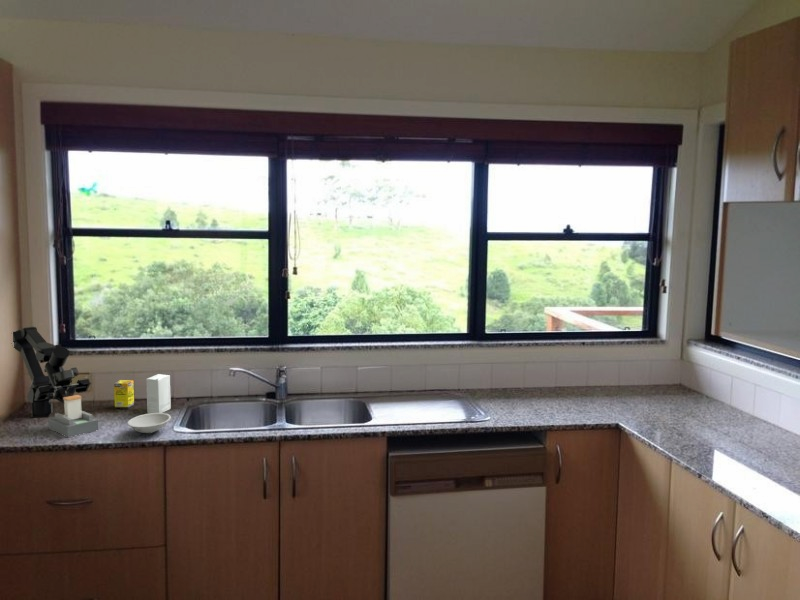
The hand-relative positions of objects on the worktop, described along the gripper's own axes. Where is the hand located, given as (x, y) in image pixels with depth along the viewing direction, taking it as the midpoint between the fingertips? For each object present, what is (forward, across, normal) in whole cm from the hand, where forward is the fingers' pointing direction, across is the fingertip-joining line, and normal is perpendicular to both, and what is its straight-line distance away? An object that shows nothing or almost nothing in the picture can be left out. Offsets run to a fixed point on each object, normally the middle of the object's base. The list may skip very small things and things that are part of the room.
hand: (71, 407), depth 240 cm
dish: (+24, +17, -12) cm, 32 cm away
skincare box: (+8, +34, +4) cm, 35 cm away
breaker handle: (+4, 0, +2) cm, 4 cm away
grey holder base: (+7, 0, +5) cm, 8 cm away
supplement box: (-4, +28, +16) cm, 32 cm away
